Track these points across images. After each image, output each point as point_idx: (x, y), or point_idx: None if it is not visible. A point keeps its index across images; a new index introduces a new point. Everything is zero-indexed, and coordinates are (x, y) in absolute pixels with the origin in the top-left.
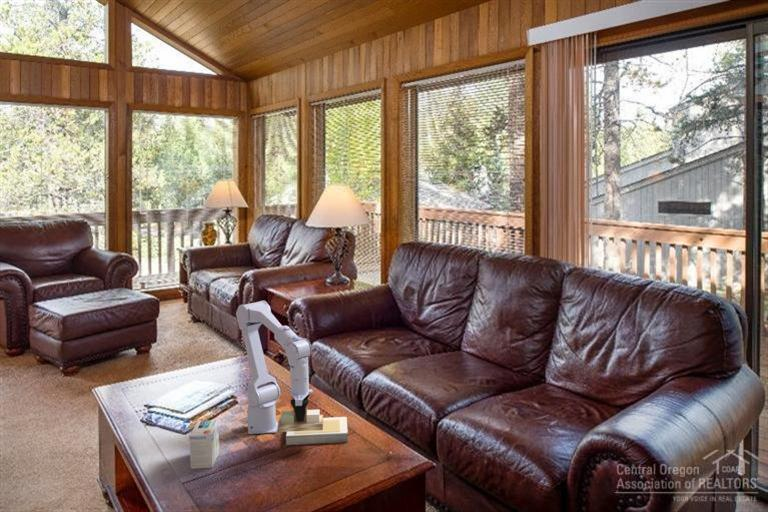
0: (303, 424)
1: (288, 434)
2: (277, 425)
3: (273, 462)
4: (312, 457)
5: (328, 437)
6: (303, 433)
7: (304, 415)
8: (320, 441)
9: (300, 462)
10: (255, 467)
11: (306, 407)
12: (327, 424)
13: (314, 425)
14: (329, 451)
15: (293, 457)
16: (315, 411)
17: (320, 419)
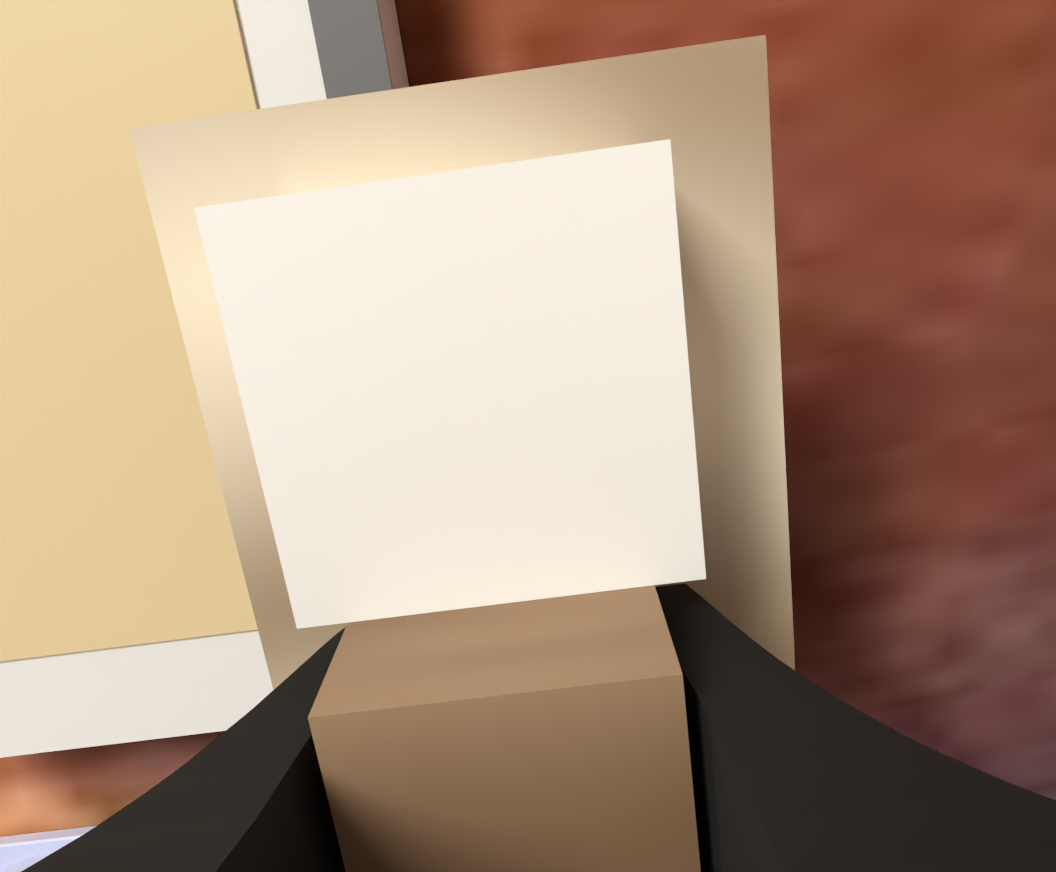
0: (773, 547)
1: None
2: (16, 843)
3: (930, 689)
4: (846, 240)
5: (391, 44)
6: None
7: (747, 637)
8: None
9: (968, 379)
10: None
11: (436, 714)
12: None
13: (771, 270)
14: (676, 3)
15: (826, 491)
16: (396, 334)
17: (460, 151)
